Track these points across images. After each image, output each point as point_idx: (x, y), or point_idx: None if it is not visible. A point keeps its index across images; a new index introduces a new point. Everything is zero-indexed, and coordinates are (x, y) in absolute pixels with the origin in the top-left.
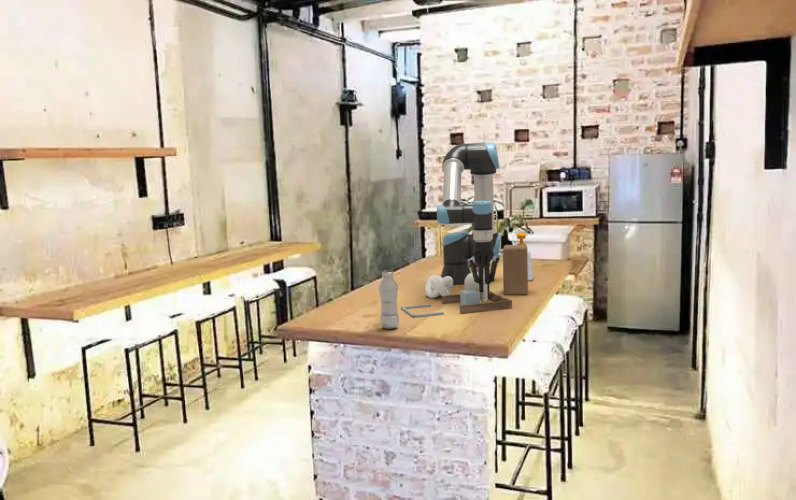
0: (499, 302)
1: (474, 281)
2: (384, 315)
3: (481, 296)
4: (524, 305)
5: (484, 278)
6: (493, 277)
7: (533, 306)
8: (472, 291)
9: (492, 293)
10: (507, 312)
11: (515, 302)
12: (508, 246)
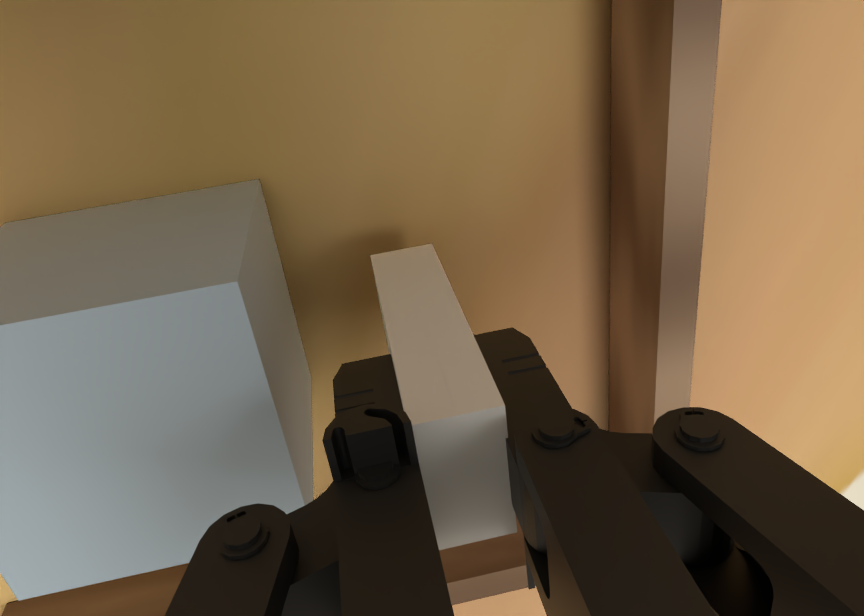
0: (515, 583)
1: (206, 543)
2: None
3: (376, 281)
4: (810, 399)
5: (541, 507)
6: (755, 609)
7: (854, 452)
8: (172, 457)
9: (671, 17)
10: (521, 612)
11: (820, 235)
12: None
